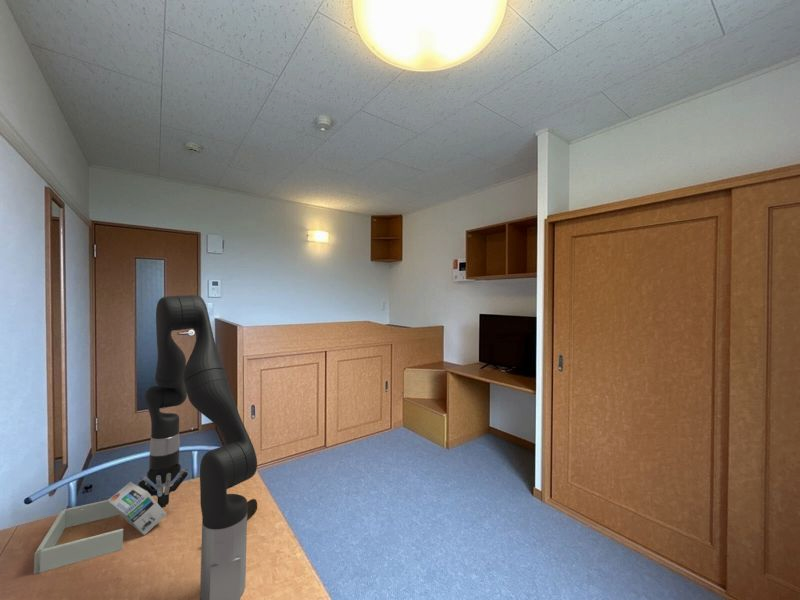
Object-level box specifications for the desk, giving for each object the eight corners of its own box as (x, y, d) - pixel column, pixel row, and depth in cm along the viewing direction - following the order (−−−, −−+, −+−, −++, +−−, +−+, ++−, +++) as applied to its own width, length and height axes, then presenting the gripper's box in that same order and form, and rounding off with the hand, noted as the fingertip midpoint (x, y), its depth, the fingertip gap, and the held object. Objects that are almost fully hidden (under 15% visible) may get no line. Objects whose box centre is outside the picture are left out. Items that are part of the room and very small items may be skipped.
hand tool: (212, 552, 89) (213, 535, 90) (201, 548, 91) (202, 531, 91) (263, 512, 107) (264, 497, 107) (253, 509, 109) (254, 495, 109)
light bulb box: (167, 514, 100) (148, 490, 95) (144, 536, 95) (122, 512, 90) (150, 502, 105) (131, 479, 101) (127, 523, 100) (106, 500, 96)
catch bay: (121, 549, 90) (122, 530, 90) (33, 574, 81) (34, 553, 81) (133, 510, 107) (133, 494, 107) (61, 527, 98) (62, 509, 98)
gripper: (135, 459, 96) (133, 520, 96) (190, 449, 103) (188, 506, 103) (139, 449, 103) (137, 506, 103) (190, 440, 110) (188, 494, 109)
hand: (163, 506), depth 103 cm, fingers closed
